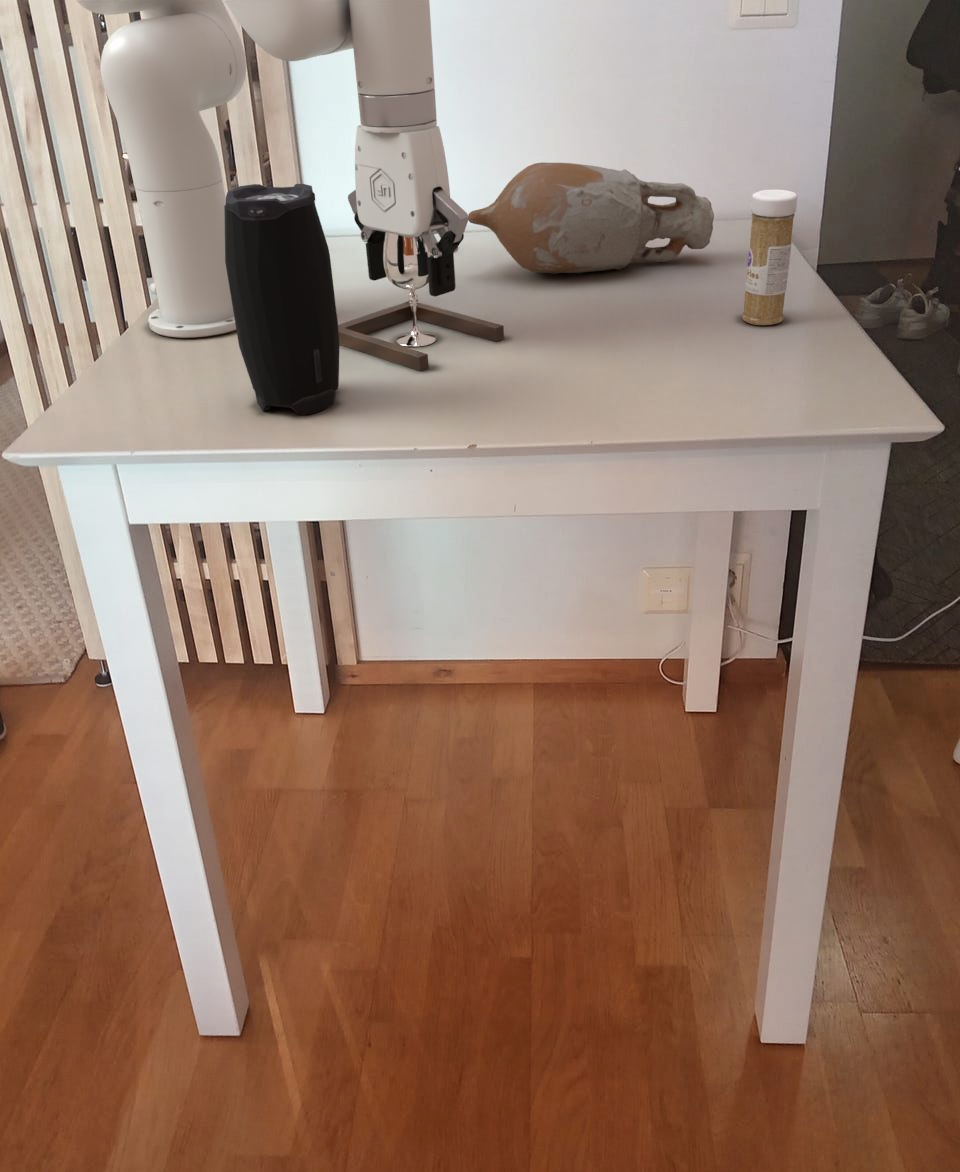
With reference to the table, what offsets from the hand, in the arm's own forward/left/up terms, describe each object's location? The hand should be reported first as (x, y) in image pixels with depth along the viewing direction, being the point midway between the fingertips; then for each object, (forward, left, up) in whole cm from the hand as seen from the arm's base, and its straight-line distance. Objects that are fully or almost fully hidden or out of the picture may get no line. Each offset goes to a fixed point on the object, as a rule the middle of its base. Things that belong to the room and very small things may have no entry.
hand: (411, 285), depth 114 cm
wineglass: (0, 0, -6) cm, 6 cm away
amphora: (-2, +32, -6) cm, 33 cm away
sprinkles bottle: (+26, +28, -6) cm, 39 cm away
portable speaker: (+4, -19, -6) cm, 20 cm away
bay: (0, 0, -6) cm, 6 cm away
